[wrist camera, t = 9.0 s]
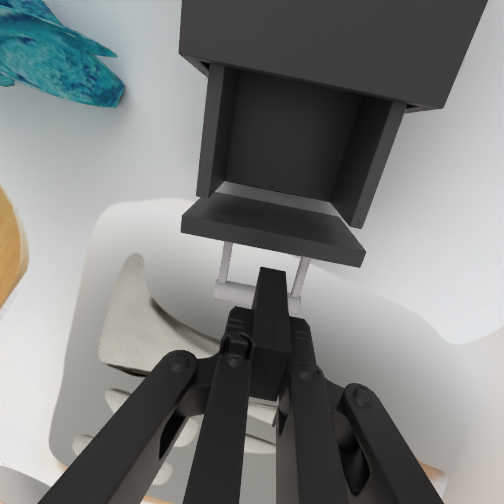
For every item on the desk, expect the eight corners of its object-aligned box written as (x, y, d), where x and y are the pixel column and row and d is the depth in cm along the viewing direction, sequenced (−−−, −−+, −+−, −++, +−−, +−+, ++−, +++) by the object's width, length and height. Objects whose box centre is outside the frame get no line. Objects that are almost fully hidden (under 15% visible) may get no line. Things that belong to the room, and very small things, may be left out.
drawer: (316, 288, 28) (331, 342, 21) (198, 265, 28) (173, 312, 21) (392, 53, 20) (459, 10, 13) (228, 18, 20) (204, -45, 13)
